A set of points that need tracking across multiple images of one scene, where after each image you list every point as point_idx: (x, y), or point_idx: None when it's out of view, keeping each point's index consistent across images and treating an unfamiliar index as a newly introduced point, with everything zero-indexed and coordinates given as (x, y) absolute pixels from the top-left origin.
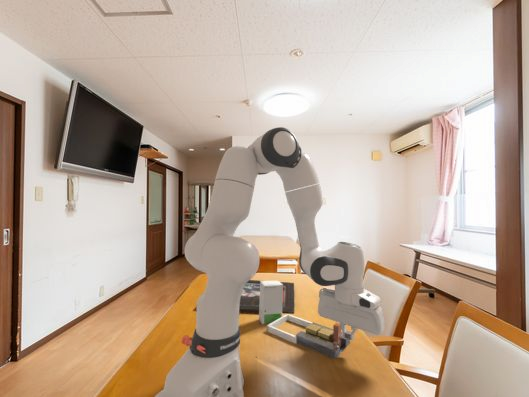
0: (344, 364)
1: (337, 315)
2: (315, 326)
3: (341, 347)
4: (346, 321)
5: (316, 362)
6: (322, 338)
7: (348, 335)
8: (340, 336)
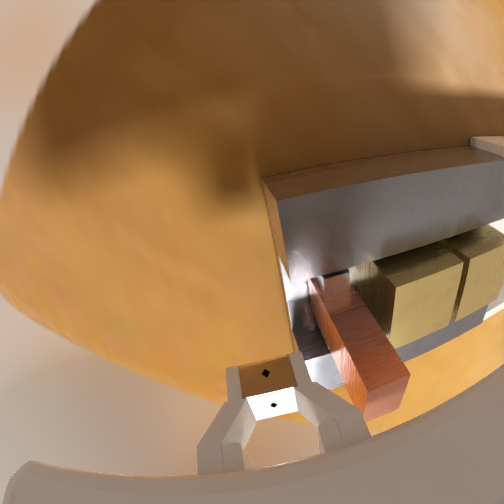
0: (214, 211)
1: (419, 487)
2: (480, 294)
3: (308, 309)
4: (292, 496)
5: (336, 88)
6: (417, 255)
7: (259, 384)
8: (332, 349)
